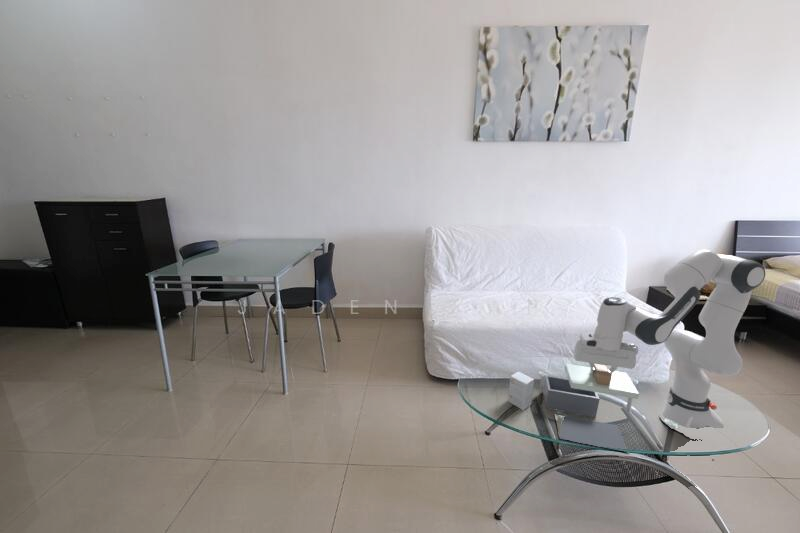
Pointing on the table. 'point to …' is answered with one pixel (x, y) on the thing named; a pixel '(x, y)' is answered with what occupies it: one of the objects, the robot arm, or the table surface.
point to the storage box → (569, 397)
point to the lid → (601, 380)
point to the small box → (520, 390)
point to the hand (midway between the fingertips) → (600, 373)
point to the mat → (591, 433)
